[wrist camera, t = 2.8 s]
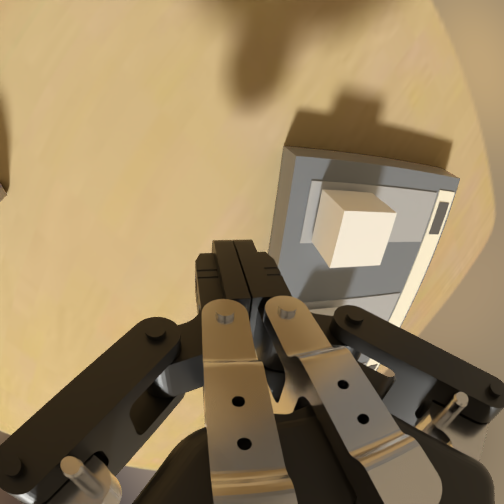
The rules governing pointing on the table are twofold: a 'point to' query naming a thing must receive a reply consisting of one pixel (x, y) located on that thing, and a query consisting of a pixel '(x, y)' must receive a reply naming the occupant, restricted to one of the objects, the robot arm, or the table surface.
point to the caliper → (2, 192)
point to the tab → (352, 228)
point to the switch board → (399, 244)
